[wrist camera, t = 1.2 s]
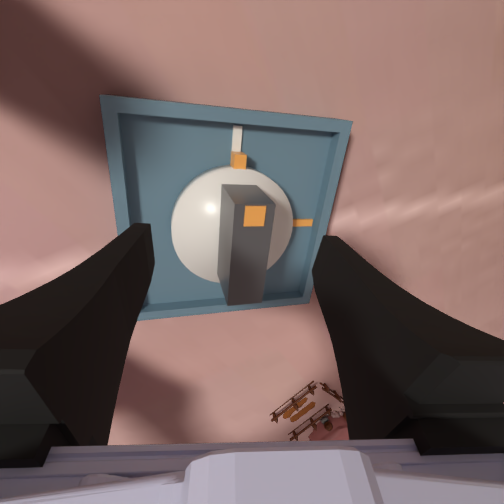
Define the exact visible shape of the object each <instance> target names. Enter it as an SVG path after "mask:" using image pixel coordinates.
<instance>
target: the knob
mask: <svg viewBox="0 0 504 504" xmlns="http://www.w3.org/2000/svg"><path fill="white" fill-rule="evenodd" d="M246 160H247V155H246V154H245V153H243V152H236V151H231V161H230V165H223V166H218V167H214V168H211V169H209V170H206V171H204V172H202V173H201V174H199V175H197V176H196V177H195V178H193V179H192V180H191V181H190V182H189V183H188V184H187V185H186V186H185V187H184V188H183V190H182V191H181V193H180V194H179V196H178V198H177V200H176V202H175V204H174V207H173V210H172V216H171V233H172V242H173V245H174V249H175V251H176V253H177V256H178V257H179V259H180V260H181V262H182V263H183V264H184V265H185V267H186V268H188V269H189V270H190V271H191V272H192V273H194V274H195V275H197V276H199V277H201V278H203V279H206V280H208V281H212V282H217V283H220V284H221V288H222V291H223V294H224V297H225V301H226V304H227V306H234V305H244V304H255V303H262V298H263V291H264V284H265V277H266V270H267V269H269V268H270V267H271V266H272V265H273V264H274V263H275V262H276V261H277V260H278V259H279V258H280V257H281V255H282V254H283V252H284V251H285V249H286V247H287V245H288V243H289V240H290V237H291V233H292V227H293V215H292V209H291V206H290V203H289V201H288V198H287V196H286V195H285V193H284V192H283V190H282V189H281V188H280V187H279V186H278V185H277V184H276V183H275V182H274V181H272V180H271V179H270V178H269V177H267V176H266V175H265V174H263V173H262V172H260V171H258V170H256V169H253V168H251V167H247V166H246Z"/></svg>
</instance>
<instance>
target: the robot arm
mask: <svg viewBox="0 0 504 504" xmlns="http://www.w3.org/2000/svg"><path fill="white" fill-rule="evenodd" d="M154 266H155V257H154V248H153V240H152V231H151V224H149V223H134V224H132V225H131V226H130V227H129V228H127V229H126V230H125V231H124V232H122V233H121V234H120V235H119V236H117V237H116V238H115V239H114V240H112V241H111V242H110V243H109V244H107V245H106V246H105V247H104V248H102V249H101V250H99V251H98V252H97V253H95V254H94V255H92V256H91V257H89V258H88V259H87V260H85V261H84V262H82V263H81V264H79V265H78V266H76V267H75V268H73V269H71V270H70V271H68V272H66V273H65V274H63V275H61V276H59V277H58V278H56V279H54V280H52V281H50V282H48V283H46V284H44V285H42V286H40V287H38V288H36V289H34V290H32V291H30V292H28V293H26V294H24V295H22V296H20V297H18V298H15V299H13V300H11V301H8V302H6V303H4V304H1V305H0V504H504V404H503V402H504V340H502V339H499V338H497V337H495V336H492V335H490V334H487V333H485V332H482V331H480V330H478V329H475V328H473V327H471V326H469V325H467V324H465V323H463V322H461V321H458V320H456V319H454V318H452V317H450V316H448V315H446V314H445V313H443V312H441V311H439V310H437V309H435V308H434V307H432V306H430V305H428V304H426V303H425V302H423V301H421V300H420V299H418V298H416V297H415V296H413V295H412V294H410V293H409V292H407V291H405V290H404V289H402V288H401V287H399V286H398V285H397V284H395V283H394V282H392V281H391V280H390V279H388V278H387V277H386V276H384V275H383V274H382V273H380V272H379V271H378V270H377V269H375V268H374V267H373V266H372V265H371V264H369V263H368V262H367V261H366V260H365V259H363V258H362V257H361V256H360V255H359V254H358V253H357V252H355V251H354V250H353V249H352V248H351V247H350V246H348V245H347V244H346V243H345V242H344V241H343V240H341V239H340V238H339V237H337V236H328V235H323V237H322V240H321V243H320V246H319V249H318V252H317V255H316V259H315V262H314V265H313V268H312V277H313V283H314V288H315V292H316V295H317V298H318V301H319V304H320V307H321V310H322V313H323V316H324V319H325V322H326V325H327V328H328V331H329V334H330V337H331V341H332V344H333V349H334V353H335V358H336V362H337V367H338V373H339V378H340V383H341V388H342V394H343V401H344V407H345V413H346V420H347V428H348V435H349V440H328V441H284V442H240V443H196V444H151V445H108V439H109V434H110V429H111V424H112V418H113V413H114V409H115V404H116V399H117V394H118V390H119V385H120V381H121V376H122V372H123V368H124V364H125V359H126V356H127V352H128V348H129V344H130V340H131V336H132V333H133V330H134V327H135V325H136V322H137V319H138V317H139V314H140V311H141V309H142V306H143V303H144V301H145V298H146V295H147V292H148V290H149V287H150V284H151V280H152V276H153V271H154Z"/></svg>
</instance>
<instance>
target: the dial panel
mask: <svg viewBox="0 0 504 504" xmlns="http://www.w3.org/2000/svg"><path fill="white" fill-rule="evenodd" d="M99 97H100V105H101V112H102V120H103V127H104V135H105V143H106V150H107V158H108V165H109V173H110V180H111V188H112V195H113V203H114V211H115V218H116V226H117V233H118V236H119V235H120V234H121V233H122V232H124V231H125V230H126V229H127V228H129V227H130V226H131V225H132V224H134V223H149V224H151V231H152V240H153V248H154V257H155V266H154V271H153V276H152V280H151V284H150V287H149V290H148V292H147V295H146V298H145V301H144V303H143V306H142V309H141V311H140V314H139V317H138V319H137V321H141V320H151V319H160V318H170V317H180V316H190V315H200V314H209V313H219V312H229V311H239V310H249V309H258V308H268V307H278V306H288V305H298V304H307V303H309V302H310V297H311V293H312V289H313V285H314V283H313V277H312V268H313V265H314V262H315V259H316V255H317V252H318V249H319V246H320V243H321V240H322V237H323V235H326V231H327V227H328V222H329V218H330V214H331V210H332V206H333V202H334V197H335V193H336V189H337V185H338V181H339V177H340V172H341V168H342V164H343V160H344V156H345V152H346V147H347V143H348V139H349V135H350V131H351V127H352V122H353V121H348V120H341V119H335V118H325V117H316V116H306V115H297V114H287V113H278V112H268V111H259V110H249V109H240V108H230V107H221V106H211V105H201V104H192V103H182V102H173V101H163V100H154V99H144V98H135V97H125V96H116V95H99ZM231 151H236V152H243V153H245V154H246V155H247V160H246V166H247V167H251V168H253V169H256V170H258V171H260V172H262V173H263V174H265V175H266V176H267V177H269V178H270V179H271V180H272V181H274V182H275V183H276V184H277V185H278V186H279V187H280V188H281V189H282V190H283V192H284V193H285V195H286V196H287V198H288V201H289V203H290V206H291V209H292V215H293V227H292V233H291V237H290V240H289V243H288V245H287V247H286V249H285V251H284V252H283V254H282V255H281V257H280V258H279V259H278V260H277V261H276V262H275V263H274V264H273V265H272V266H271V267H270V268H269V269H267V270H266V277H265V284H264V291H263V298H262V303H255V304H244V305H234V306H227V304H226V301H225V297H224V294H223V291H222V288H221V284H220V283H217V282H212V281H208V280H206V279H203V278H201V277H199V276H197V275H195V274H194V273H192V272H191V271H190V270H189V269H188V268H186V267H185V265H184V264H183V263H182V262H181V260H180V259H179V257H178V256H177V253H176V251H175V249H174V245H173V242H172V233H171V216H172V210H173V207H174V204H175V202H176V200H177V198H178V196H179V194H180V193H181V191H182V190H183V188H184V187H185V186H186V185H187V184H188V183H189V182H190V181H191V180H192V179H193V178H195V177H196V176H197V175H199V174H201V173H202V172H204V171H206V170H209V169H211V168H214V167H218V166H223V165H230V161H231Z"/></svg>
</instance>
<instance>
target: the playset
mask: <svg viewBox="0 0 504 504" xmlns="http://www.w3.org/2000/svg"><path fill="white" fill-rule="evenodd" d="M313 382H314V381H312V382H311V383H310V384H312V383H313ZM310 384H308V385H307V386H306V387H308V388H309V391H307V392H306V393H305V394H304V395H302V396H301V397H300V398H299V399H297V400H296V401H295V400H294V398H293V397H295V396H296V395H297V394H298V393H300V392H301V391H302V390H303V389H305V388H306V387H305V388H303V389H302V390H301V391H299V392H298V393H297V394H296V395H294V396H293V397H292V398H290V399H289V400H291V399H292V404H291V405H290V406H288V407H287V408H286V409H285V410H283V411H282V412H281V413H279V414H278V415H277V416H276V414H275V413H274V412H275V411H276V410H278V409H279V408H280V407H281V406H280V407H279V408H278V409H276V410H275V411H274V412H273V413H271V414H273V419H271V421H272V422H273V421H275V422H276V423H277V422H278V417H279V416H281V415H282V414H283V413H284V414H283V418H284V419H286V418H289V417H290V416H291V414H292V413H293V412H294V411H295V410H297V411H298V408H300V407H301V406H302V405H303V404H304V403H305V402H306V401H307V399H308V398H306V397H305V398H304V399H302V398H303V397H304V396H306V395H307V394H309V393H311V394H312V395H314V391H313V390H314V389H316V388H317V387H316V385H315V386H314V387H312V388H311V386H309V385H310ZM320 384H321V385H323V386H324V388H323V387H322V389H323V390H324V391H326V392H327V393H329V394H330V395H332V396H333V397H335V398H336V399H337V400H338V401H340V402H342V403H344V402H343V401H342V400H341V398H342V397H341V396H339V395H338V394H337V392H336V391H335V390H334V391H332V390H331V389H329V388H328V387H327V385H326V384H325V383H324V384H322V383H320ZM330 391H332V392H333V393H334V394H335V395H333V394H332V393H330ZM340 397H341V398H340ZM301 399H302V400H301ZM342 399H343V398H342ZM289 400H288V401H289ZM300 400H301V401H300ZM288 401H287V402H288ZM298 401H300V402H298ZM287 402H285V403H287ZM297 402H298V403H297ZM285 403H284V404H285ZM284 404H283V405H284ZM283 405H282V406H283ZM328 405H329V404H327V405H326V406H325V407H323V408H322V409H324V408H326V412H325V413H324V414H322V415H321V416H320V417H319V418H317V419H316V420H314V421H313V419H312V417H313V416H314V415H316V414H317V413H318V412H320V411H321V410H322V409H321V410H319V411H318V412H317V413H315V414H314V415H313V416H312V417H310V418H311V419H310V418H309V419H310V421H311V423H310V424H309V425H308V426H307V427H305V428H304V429H303V430H301V431H300V432H299V433H297V434H296V433H295V431H294V430H296V429H297V428H298V427H299V426H298V427H297V428H296V429H294V430H293V431H292V432H293V435H294V436H293V437H292V438H290V441H292V440H293V439H294V438H295V439H296V440H297V441H298V435H300V434H301V433H302V432H304V431H305V430H306V429H308V428H309V427H310V426H312V427H313V428H314V429H313V432H312V433H311V434H310V436H309V438H310V440H309V441H328V440H349V435H348V428H347V420H346V413H345V412H342V411H339V412H337V411H333V412H330V411H332V409H331V408H330V409H328V408H327V406H328ZM292 406H293V407H292ZM314 406H315V402H311V403H310V404H309V405H307V406H306V407H304V408H303V409H302V410H301V411H299V412H298V413H297V414H295V415H294V416H292V417H291V418H290V420H291V422H294V421H296V420H298V419H299V418H300V417H301V416H303V415H304V414H306V413H307V412H308V411H309V410H310V409H312V408H313V407H314ZM291 407H292V408H291ZM290 408H291V409H290ZM339 408H341V407H339ZM288 409H289V410H288ZM344 409H345V407H342V408H341V410H344ZM287 410H288V411H287ZM271 414H270V415H271ZM326 414H329V415H330V416H328V417H325V418H322V417H323V416H325V415H326ZM320 418H322V419H320ZM309 419H308V420H309ZM319 419H320V420H321V421H320V422H319V423H318V424H317V425H316V424H315V422H317V421H318V420H319ZM308 420H306V421H308ZM306 421H305V422H306ZM305 422H304V423H305ZM304 423H302V424H304ZM302 424H301V425H302ZM301 425H300V426H301ZM292 432H290V433H289V434H291V433H292ZM289 434H288V435H289Z"/></svg>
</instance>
